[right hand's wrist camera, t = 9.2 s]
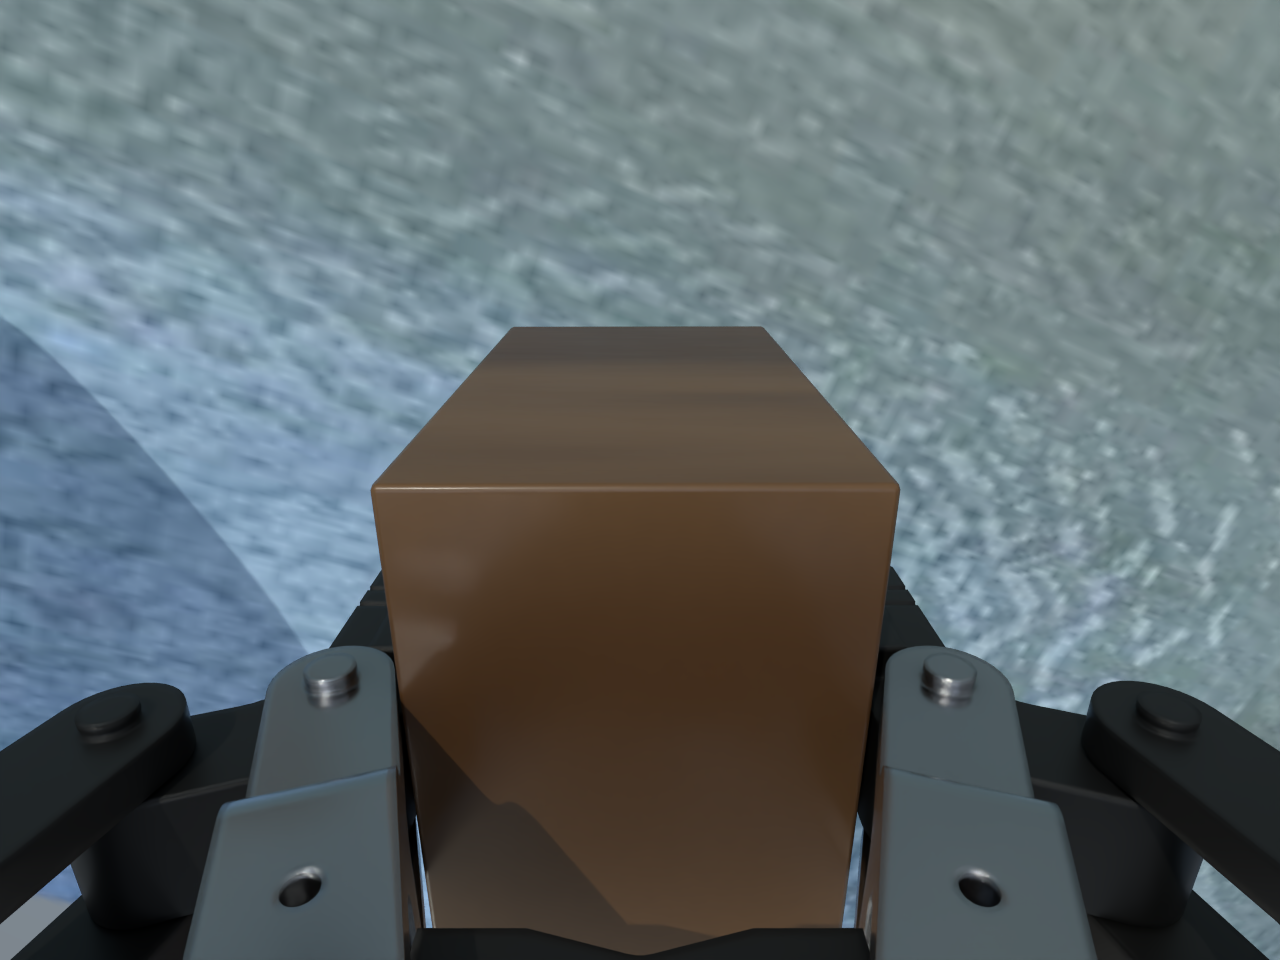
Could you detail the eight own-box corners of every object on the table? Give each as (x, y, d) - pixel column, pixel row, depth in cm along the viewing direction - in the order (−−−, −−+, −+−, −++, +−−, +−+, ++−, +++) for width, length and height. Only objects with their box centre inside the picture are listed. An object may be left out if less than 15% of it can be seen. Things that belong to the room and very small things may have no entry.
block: (511, 326, 14) (366, 485, 7) (763, 325, 14) (904, 484, 7) (559, 1098, 22) (520, 1555, 15) (719, 1098, 22) (759, 1554, 15)
